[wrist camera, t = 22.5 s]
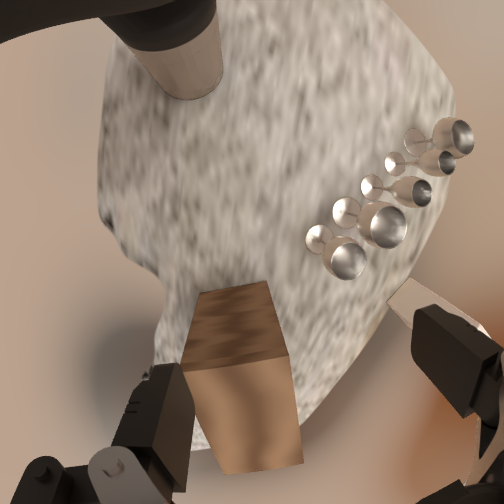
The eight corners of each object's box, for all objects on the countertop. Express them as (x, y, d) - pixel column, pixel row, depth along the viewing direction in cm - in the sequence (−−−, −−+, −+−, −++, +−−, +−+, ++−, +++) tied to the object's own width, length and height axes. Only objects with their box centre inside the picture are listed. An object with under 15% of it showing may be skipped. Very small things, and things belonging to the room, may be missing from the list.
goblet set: (320, 263, 43) (352, 298, 30) (295, 236, 42) (320, 262, 29) (433, 146, 39) (487, 143, 27) (414, 118, 38) (467, 106, 25)
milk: (423, 296, 46) (504, 357, 25) (401, 321, 47) (474, 392, 25) (408, 275, 45) (497, 334, 23) (385, 301, 45) (463, 374, 24)
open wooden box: (226, 385, 48) (224, 474, 29) (199, 293, 43) (177, 372, 24) (282, 375, 48) (304, 463, 29) (266, 280, 43) (288, 355, 24)
